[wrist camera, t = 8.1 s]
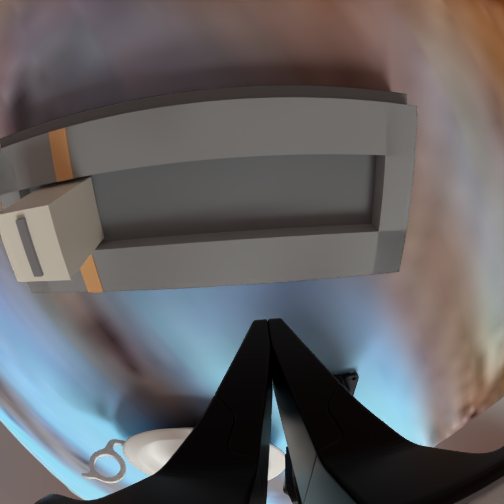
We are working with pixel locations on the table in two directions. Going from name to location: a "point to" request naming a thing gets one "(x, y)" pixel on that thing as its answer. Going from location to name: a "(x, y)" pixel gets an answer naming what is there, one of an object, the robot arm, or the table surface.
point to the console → (230, 185)
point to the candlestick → (160, 453)
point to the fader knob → (52, 231)
